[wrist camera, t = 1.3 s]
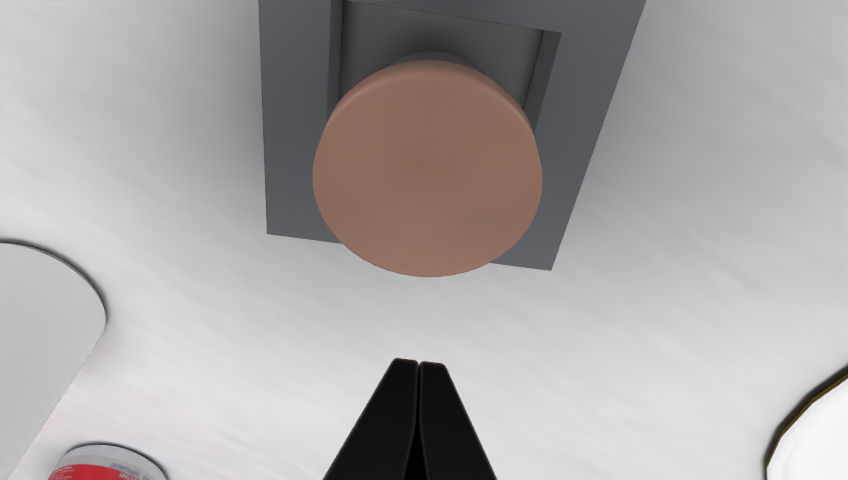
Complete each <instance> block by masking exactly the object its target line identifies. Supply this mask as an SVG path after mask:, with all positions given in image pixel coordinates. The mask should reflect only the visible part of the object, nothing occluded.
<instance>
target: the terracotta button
mask: <svg viewBox="0 0 848 480" xmlns="http://www.w3.org/2000/svg"><path fill="white" fill-rule="evenodd" d="M312 177H313V190H314V194H315V199H316V202H317V205H318V208H319V211H320V213H321V215H322V217H323V219H324V220H325V222H326V224H327V225H328V227H329V228H330V230H331V231H332V232H333V234H334V235H335V236H336V237H337V238H338V239H339V240H340V241H341V242H342V243H343V244H344V245H345V246H346V247H347V248H348V249H350V250H351V251H352V252H353V253H355V254H356V255H358V256H359V257H361V258H362V259H364V260H366V261H368V262H370V263H371V264H373V265H375V266H378V267H380V268H383V269H385V270H388V271H392V272H395V273H399V274H404V275H410V276H419V277H442V276H450V275H455V274H460V273H464V272H468V271H471V270H473V269H476V268H479V267H481V266H483V265H485V264H488V263H490V262H491V261H493V260H495V259H496V258H498V257H500V256H501V255H502V254H504V253H505V252H506V251H507V250H509V249H510V248H511V247H512V246H513V245H514V244H515V243H516V242H517V241H518V240H519V239H520V238H521V237H522V235H523V234H524V233H525V232H526V230H527V229H528V227H529V226H530V224H531V222H532V220H533V219H534V217H535V214H536V211H537V209H538V206H539V203H540V198H541V194H542V182H543V178H542V166H541V162H540V158H539V154H538V150H537V146H536V142H535V138H534V134H533V130H532V128H531V125H530V123H529V120H528V118H527V116H526V115H525V113H524V111H523V110H522V108H521V106H520V105H519V104H518V102H517V101H516V100H515V99H514V98H513V96H512V95H511V94H510V93H509V92H508V91H507V90H505V89H504V88H503V87H502V86H501V85H500V84H498V83H497V82H495V81H494V80H493V79H491V78H490V77H488V76H486V75H484V74H483V73H482V72H481V71H480V70H479V69H478V68H477V67H476V66H475V65H473V64H472V63H470V62H469V61H467V60H465V59H464V58H462V57H460V56H457V55H454V54H451V53H447V52H443V51H433V50H432V51H420V52H414V53H411V54H408V55H405V56H403V57H401V58H399V59H397V60H395V61H394V62H392V63H391V64H389V65H388V66H387V67H386V68H383V69H381V70H379V71H377V72H375V73H372V74H370V75H369V76H367V77H366V78H364V79H363V80H361V81H360V82H358V83H357V84H356V85H355V86H353V87H352V88H351V89H350V90H349V91H348V92H347V93H346V94H345V95H344V96H343V97H342V99H341V100H340V101H339V102H338V104H337V105H336V107H335V108H334V110H333V112H332V113H331V115H330V118H329V120H328V122H327V124H326V127H325V129H324V132H323V135H322V137H321V140H320V142H319V145H318V147H317V151H316V154H315V158H314V163H313V173H312Z"/></svg>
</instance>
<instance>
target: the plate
mask: <svg viewBox="0 0 848 480" xmlns="http://www.w3.org/2000/svg"><path fill="white" fill-rule="evenodd" d="M766 480H848V374H846V375H845V376H843V377H842V378H841V379H839V380H838V381H836V382H835V383H834V384H832V385H831V386H829V387H828V388H826V389H825V390H824V391H822V392H821V393H819V394H818V395H817V396H815V397H814V398H812V400H811V401H810V402H809V403H808V404H807V405H806V406H805V407H804V408H803V409H802V410H801V411H800V413H799V414H798V415H797V416H796V417H795V418H794V419H793V420H792V421H791V422H790V423H789V425H788V426H787V427H786V428H785V429H784V430H783V431H782V432H781V434H780V435H779V438H778V440H777V442H776V444H775V446H774V448H773V451H772V453H771V455H770V457H769V459H768V461H767V464H766Z"/></svg>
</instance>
